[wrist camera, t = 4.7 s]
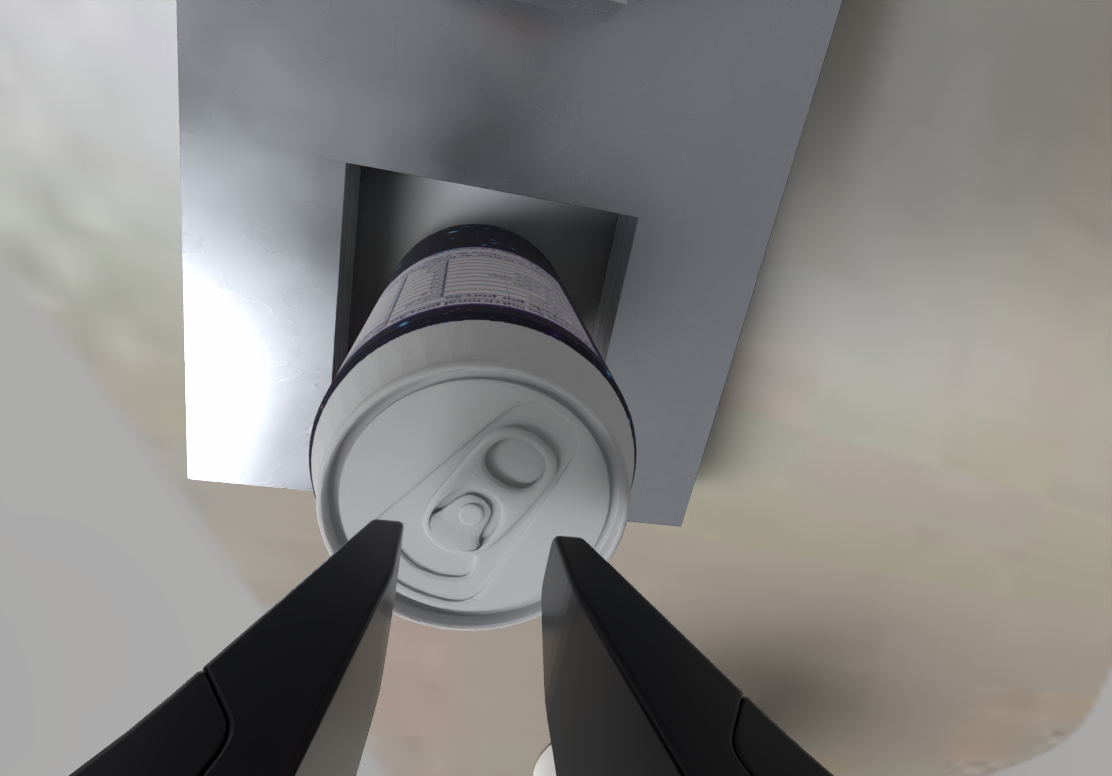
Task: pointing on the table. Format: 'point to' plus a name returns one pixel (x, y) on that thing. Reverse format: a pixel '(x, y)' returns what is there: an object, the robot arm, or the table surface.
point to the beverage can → (474, 430)
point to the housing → (487, 162)
